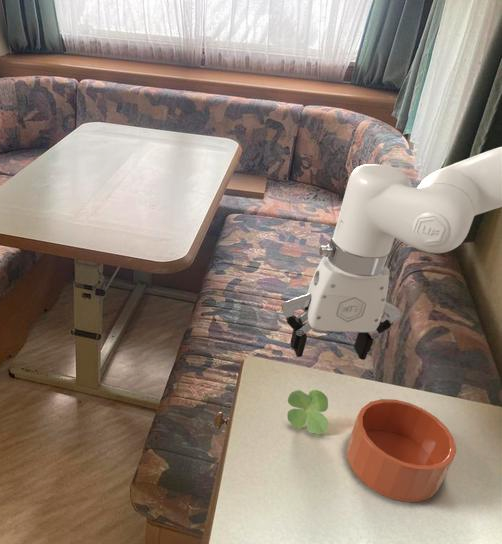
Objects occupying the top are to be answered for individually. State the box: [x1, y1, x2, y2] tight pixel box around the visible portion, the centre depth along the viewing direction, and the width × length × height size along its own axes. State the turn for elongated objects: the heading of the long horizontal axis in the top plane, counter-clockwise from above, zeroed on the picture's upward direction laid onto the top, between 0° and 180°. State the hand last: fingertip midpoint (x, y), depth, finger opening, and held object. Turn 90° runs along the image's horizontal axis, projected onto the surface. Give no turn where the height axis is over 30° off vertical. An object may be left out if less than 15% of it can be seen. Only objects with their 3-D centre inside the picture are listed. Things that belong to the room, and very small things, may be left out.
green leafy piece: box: [287, 389, 330, 435], centre depth 95 cm, size 7×8×7 cm
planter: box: [346, 398, 457, 503], centre depth 86 cm, size 13×13×7 cm
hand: (328, 352), depth 88 cm, fingers open, 9 cm apart
